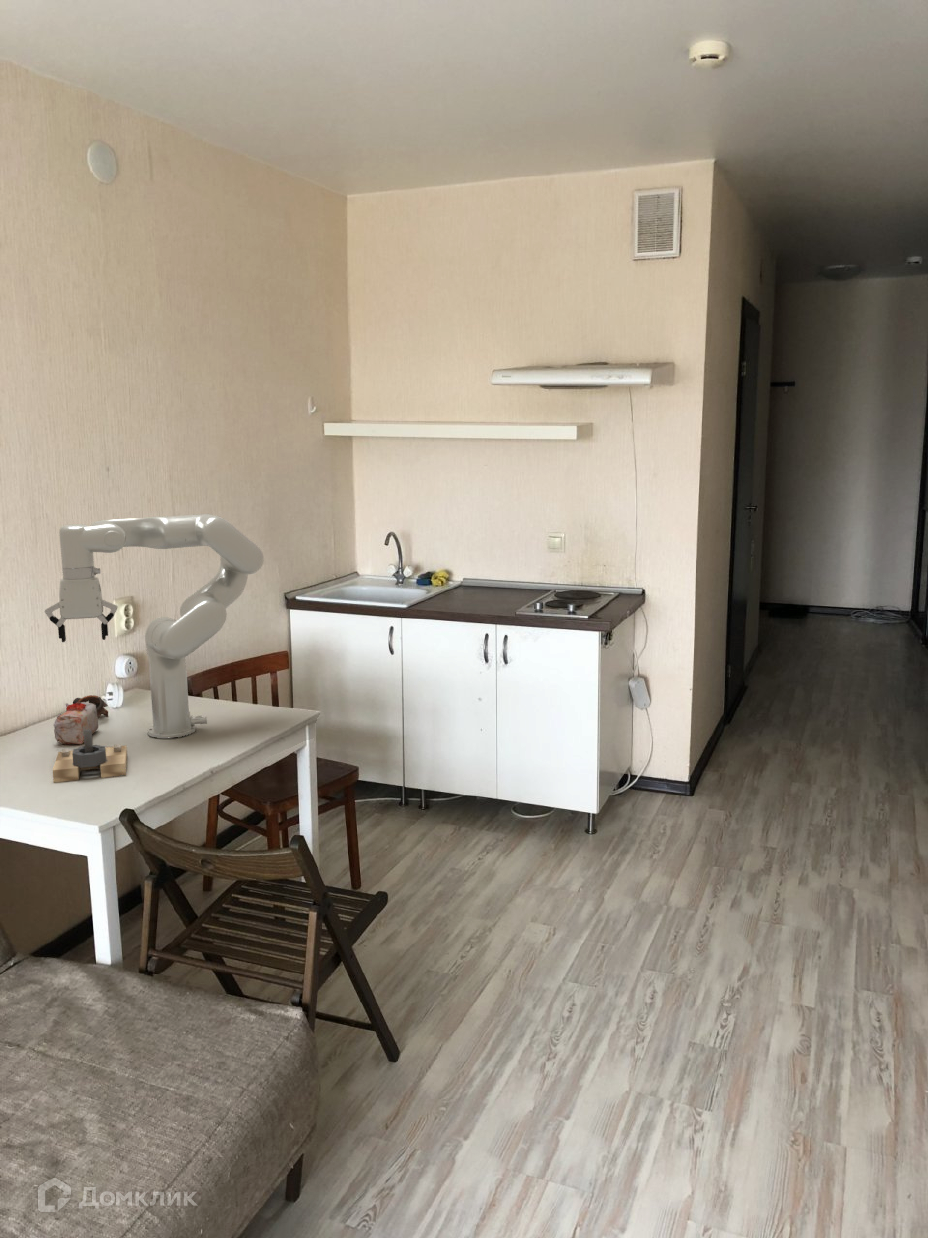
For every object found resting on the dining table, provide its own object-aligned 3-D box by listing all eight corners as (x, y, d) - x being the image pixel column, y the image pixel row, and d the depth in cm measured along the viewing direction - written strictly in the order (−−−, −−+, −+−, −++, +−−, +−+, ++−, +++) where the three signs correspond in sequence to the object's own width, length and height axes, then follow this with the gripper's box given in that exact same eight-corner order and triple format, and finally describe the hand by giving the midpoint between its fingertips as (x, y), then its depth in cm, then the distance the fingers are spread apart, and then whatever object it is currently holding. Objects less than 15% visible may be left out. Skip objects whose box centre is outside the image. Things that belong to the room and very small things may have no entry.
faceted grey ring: (106, 755, 241) (105, 744, 240) (105, 765, 234) (104, 753, 233) (75, 758, 238) (74, 746, 238) (72, 768, 232) (71, 756, 231)
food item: (83, 746, 257) (80, 710, 255) (53, 747, 257) (49, 710, 255) (101, 730, 271) (98, 696, 269) (72, 731, 270) (69, 696, 269)
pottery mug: (118, 718, 284) (112, 698, 278) (95, 740, 277) (89, 720, 272) (86, 703, 287) (80, 684, 282) (63, 725, 281) (56, 705, 276)
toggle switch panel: (127, 756, 249) (124, 714, 247) (125, 775, 236) (122, 731, 233) (59, 763, 244) (55, 720, 242) (53, 782, 231) (49, 737, 229)
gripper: (115, 570, 255) (120, 635, 258) (43, 573, 250) (49, 639, 253) (114, 574, 248) (119, 640, 251) (40, 577, 243) (46, 645, 246)
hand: (84, 640), depth 252 cm, fingers open, 9 cm apart
